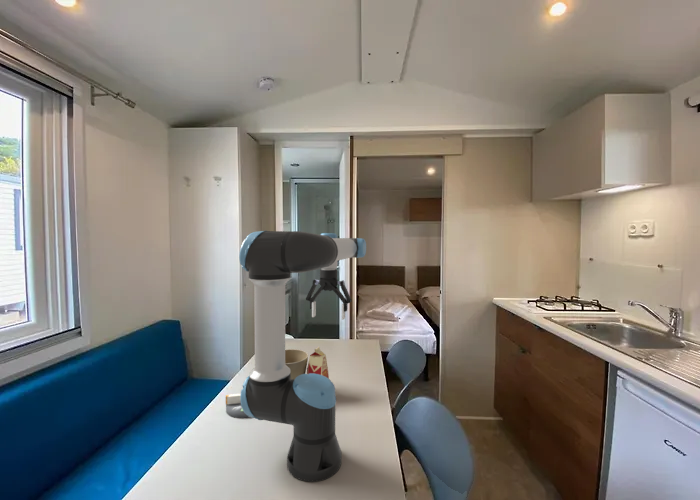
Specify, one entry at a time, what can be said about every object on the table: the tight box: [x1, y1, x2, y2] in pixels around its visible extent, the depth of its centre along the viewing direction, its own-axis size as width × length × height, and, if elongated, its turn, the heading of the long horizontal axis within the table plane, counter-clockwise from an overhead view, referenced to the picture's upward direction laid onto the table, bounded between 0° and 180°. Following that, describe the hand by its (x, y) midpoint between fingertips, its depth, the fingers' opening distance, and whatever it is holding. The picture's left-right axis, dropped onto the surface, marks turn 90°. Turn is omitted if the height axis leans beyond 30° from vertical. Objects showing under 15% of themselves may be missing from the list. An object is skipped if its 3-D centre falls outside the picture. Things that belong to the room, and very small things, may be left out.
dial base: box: [225, 403, 250, 419], centre depth 120 cm, size 14×14×2 cm
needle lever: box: [225, 388, 243, 405], centre depth 119 cm, size 9×4×4 cm, turn 104°
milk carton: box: [306, 346, 330, 379], centre depth 128 cm, size 9×9×20 cm
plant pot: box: [285, 348, 309, 379], centre depth 129 cm, size 15×15×16 cm
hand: (328, 317), depth 141 cm, fingers open, 13 cm apart
